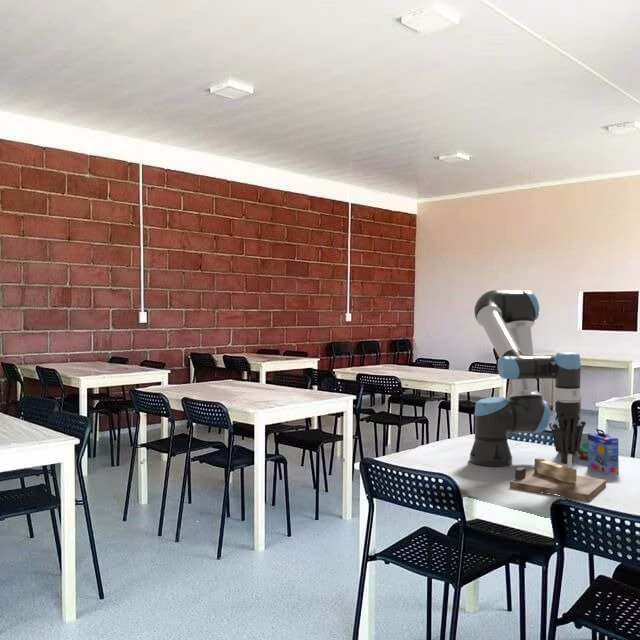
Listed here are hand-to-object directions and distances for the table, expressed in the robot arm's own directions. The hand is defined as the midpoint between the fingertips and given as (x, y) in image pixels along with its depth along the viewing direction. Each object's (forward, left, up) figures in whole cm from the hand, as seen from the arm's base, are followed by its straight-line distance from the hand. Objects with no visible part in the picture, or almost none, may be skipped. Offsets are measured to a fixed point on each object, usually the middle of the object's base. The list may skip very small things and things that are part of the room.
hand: (567, 473), depth 213 cm
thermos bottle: (-13, +46, -4) cm, 48 cm away
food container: (-3, +40, -4) cm, 40 cm away
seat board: (-2, -3, -4) cm, 5 cm away
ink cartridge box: (+4, +27, -4) cm, 27 cm away
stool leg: (-4, 0, -2) cm, 5 cm away
